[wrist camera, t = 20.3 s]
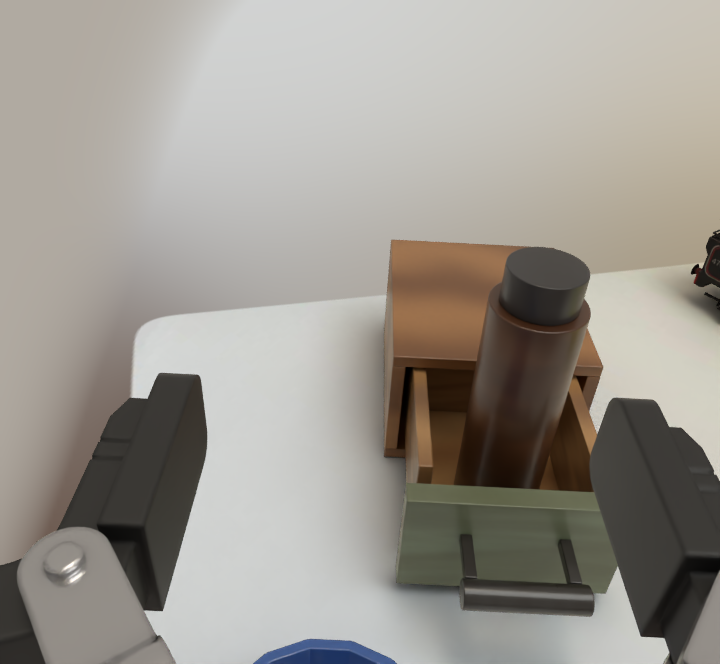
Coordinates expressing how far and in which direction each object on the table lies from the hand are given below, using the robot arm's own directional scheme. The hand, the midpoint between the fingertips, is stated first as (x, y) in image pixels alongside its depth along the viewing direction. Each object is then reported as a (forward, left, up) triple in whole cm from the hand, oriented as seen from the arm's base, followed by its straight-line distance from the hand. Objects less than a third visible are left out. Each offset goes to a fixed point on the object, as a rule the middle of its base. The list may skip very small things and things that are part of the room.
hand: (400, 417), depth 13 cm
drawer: (+8, +17, -23) cm, 30 cm away
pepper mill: (+8, +17, -22) cm, 29 cm away
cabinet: (+8, +29, -24) cm, 39 cm away
